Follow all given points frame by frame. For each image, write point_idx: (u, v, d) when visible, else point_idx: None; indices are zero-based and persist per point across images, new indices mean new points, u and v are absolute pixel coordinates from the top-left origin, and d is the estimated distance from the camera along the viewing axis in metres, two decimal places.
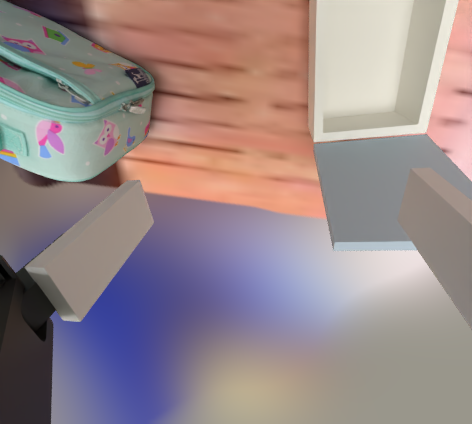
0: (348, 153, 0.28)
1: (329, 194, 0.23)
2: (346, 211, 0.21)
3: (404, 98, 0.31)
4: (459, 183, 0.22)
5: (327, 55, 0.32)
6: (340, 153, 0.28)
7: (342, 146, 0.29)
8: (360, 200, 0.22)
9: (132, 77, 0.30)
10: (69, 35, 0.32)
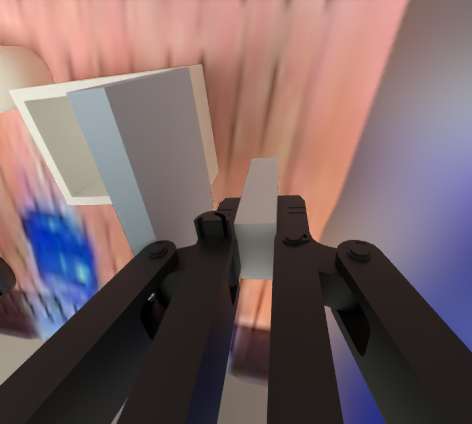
0: None
1: None
2: None
3: None
4: None
5: None
6: None
7: None
8: None
9: None
10: None
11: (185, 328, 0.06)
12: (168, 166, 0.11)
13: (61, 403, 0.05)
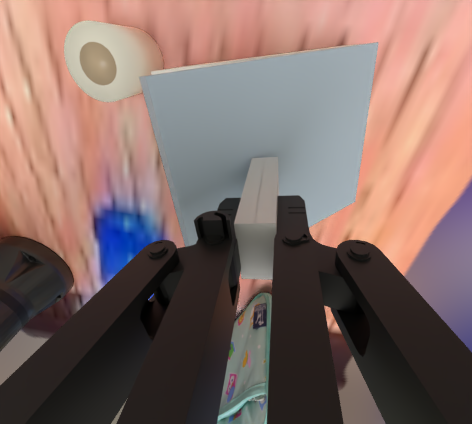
0: None
1: None
2: None
3: None
4: None
5: None
6: None
7: None
8: None
9: (258, 324, 0.37)
10: None
11: (185, 328, 0.06)
12: (233, 142, 0.14)
13: (61, 403, 0.05)
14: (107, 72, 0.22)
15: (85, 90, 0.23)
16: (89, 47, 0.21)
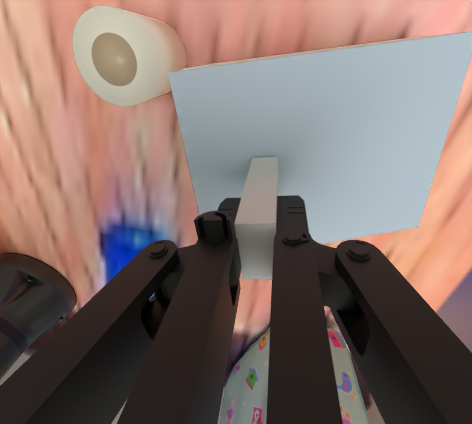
0: None
1: None
2: None
3: None
4: None
5: None
6: None
7: None
8: None
9: None
10: (252, 362, 0.40)
11: (185, 328, 0.06)
12: (250, 137, 0.14)
13: (61, 403, 0.05)
14: (125, 70, 0.18)
15: (97, 92, 0.19)
16: (103, 40, 0.17)
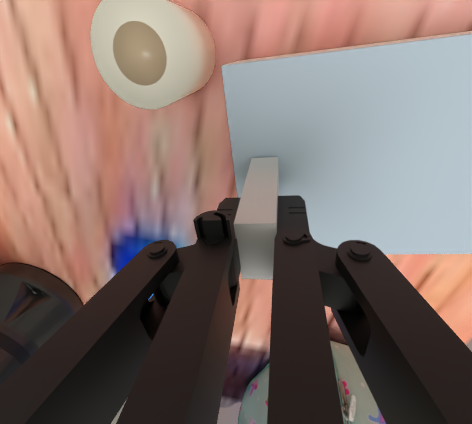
0: None
1: None
2: None
3: None
4: None
5: None
6: None
7: None
8: None
9: None
10: None
11: (185, 328, 0.06)
12: (297, 133, 0.14)
13: (61, 403, 0.05)
14: (152, 67, 0.15)
15: (118, 92, 0.16)
16: (128, 30, 0.14)
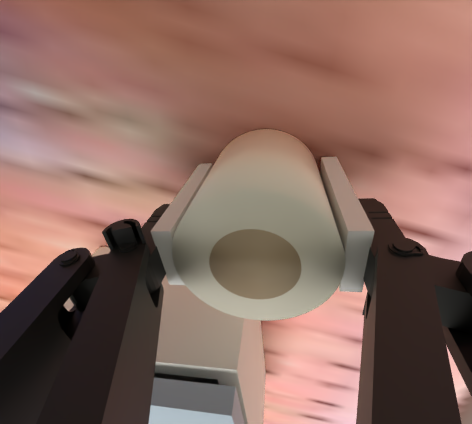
0: None
1: None
2: None
3: None
4: None
5: None
6: None
7: None
8: None
9: None
10: None
11: (100, 334, 0.06)
12: None
13: None
14: (237, 277, 0.09)
15: (192, 215, 0.08)
16: (289, 259, 0.09)
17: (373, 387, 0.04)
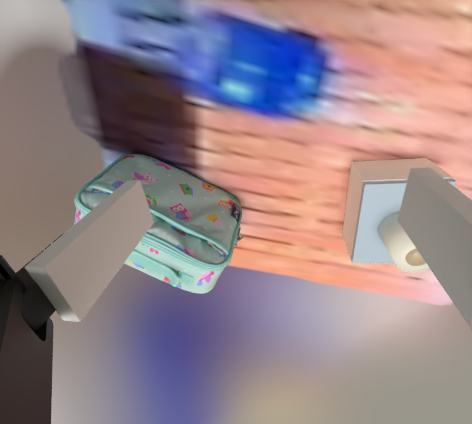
0: None
1: None
2: None
3: None
4: None
5: None
6: None
7: None
8: None
9: (235, 216, 0.47)
10: (191, 184, 0.48)
11: None
12: None
13: None
14: (411, 259, 0.36)
15: (408, 244, 0.35)
16: None
17: None
